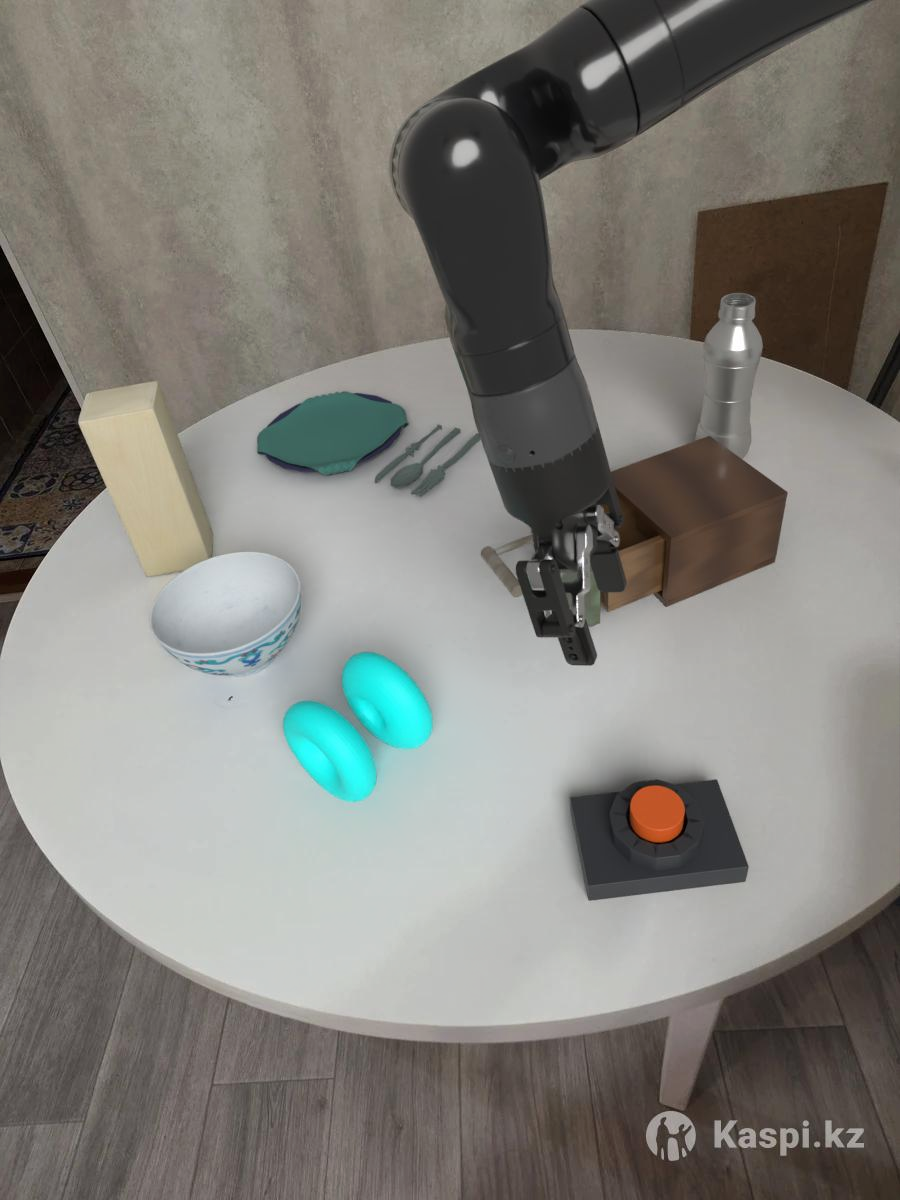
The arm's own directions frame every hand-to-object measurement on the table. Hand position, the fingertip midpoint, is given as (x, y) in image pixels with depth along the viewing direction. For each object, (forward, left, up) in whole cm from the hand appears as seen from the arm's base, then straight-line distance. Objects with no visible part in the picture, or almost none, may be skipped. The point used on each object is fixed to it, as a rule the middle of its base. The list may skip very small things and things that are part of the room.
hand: (599, 624), depth 65 cm
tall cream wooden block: (+43, -38, -16) cm, 60 cm away
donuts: (+20, -3, -16) cm, 26 cm away
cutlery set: (+21, -56, -16) cm, 62 cm away
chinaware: (+33, -19, -16) cm, 42 cm away
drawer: (-3, -21, -15) cm, 26 cm away
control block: (-3, +9, -16) cm, 19 cm away
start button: (-3, +9, -12) cm, 16 cm away
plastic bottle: (-24, -43, -16) cm, 51 cm away
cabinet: (-15, -26, -16) cm, 34 cm away
